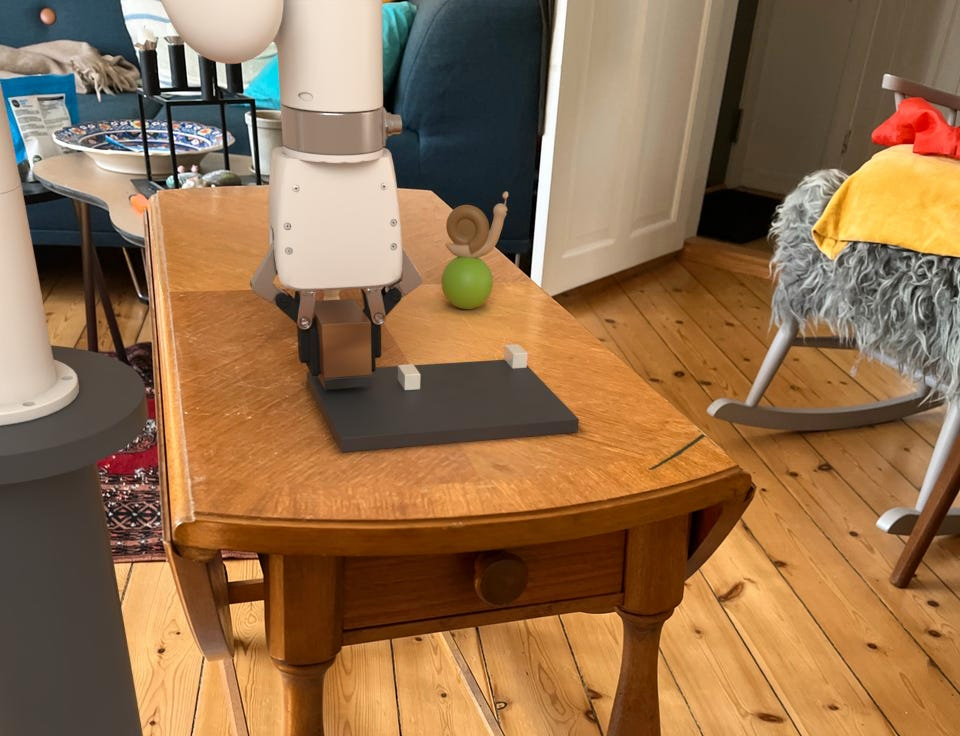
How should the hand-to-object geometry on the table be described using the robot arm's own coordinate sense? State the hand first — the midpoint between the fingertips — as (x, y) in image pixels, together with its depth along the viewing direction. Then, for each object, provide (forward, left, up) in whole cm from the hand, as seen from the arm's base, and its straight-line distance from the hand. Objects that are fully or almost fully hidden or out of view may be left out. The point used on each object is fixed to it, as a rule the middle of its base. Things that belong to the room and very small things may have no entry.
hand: (340, 365), depth 88 cm
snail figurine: (+19, +21, -3) cm, 28 cm away
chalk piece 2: (+17, +2, -1) cm, 17 cm away
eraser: (0, 0, -1) cm, 1 cm away
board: (+8, -4, -3) cm, 9 cm away
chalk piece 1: (+6, -1, -1) cm, 6 cm away
